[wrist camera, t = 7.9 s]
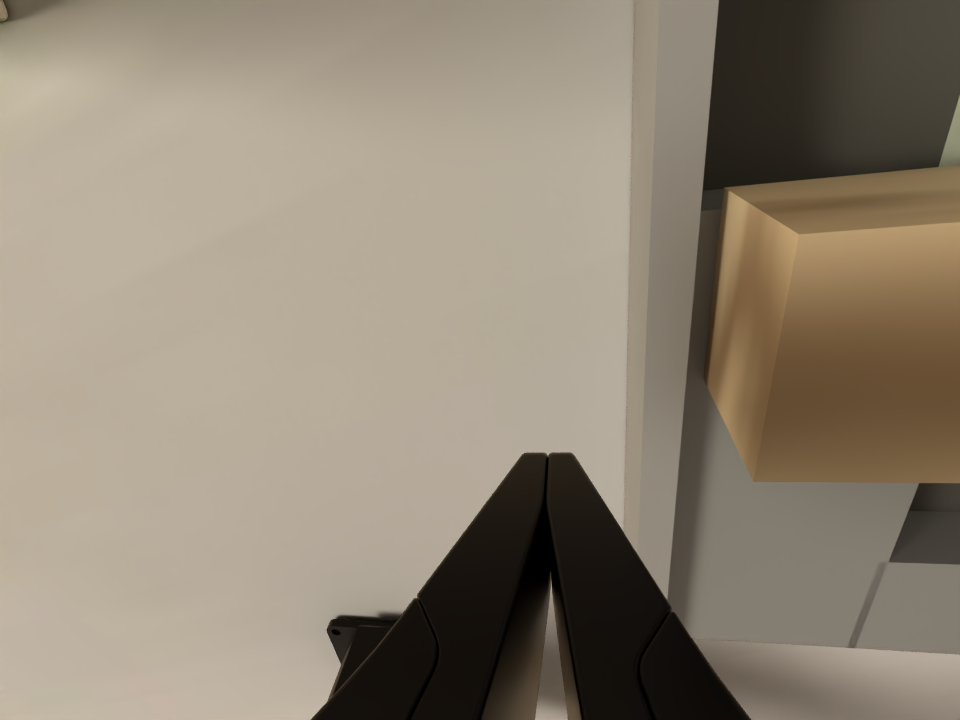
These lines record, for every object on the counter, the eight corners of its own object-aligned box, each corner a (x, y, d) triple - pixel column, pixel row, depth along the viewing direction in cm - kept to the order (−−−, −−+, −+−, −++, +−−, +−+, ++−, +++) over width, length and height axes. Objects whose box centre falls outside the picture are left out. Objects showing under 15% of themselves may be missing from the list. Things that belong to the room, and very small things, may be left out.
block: (914, 372, 12) (1050, 483, 9) (703, 379, 13) (753, 481, 10) (985, 163, 10) (1207, 203, 7) (724, 187, 11) (799, 234, 8)
